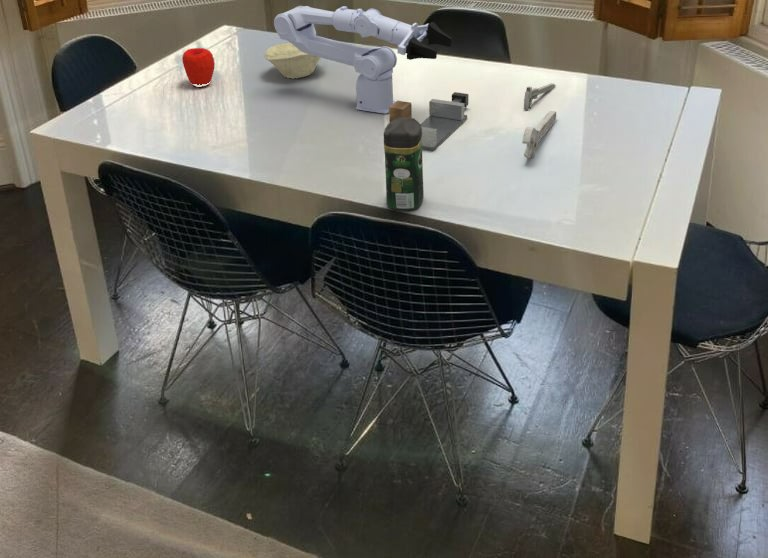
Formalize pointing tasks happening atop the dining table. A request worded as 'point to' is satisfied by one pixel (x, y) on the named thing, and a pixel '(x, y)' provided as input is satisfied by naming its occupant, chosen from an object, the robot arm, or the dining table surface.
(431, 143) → the vise
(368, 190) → the dining table surface
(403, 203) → the coffee jar
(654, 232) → the dining table surface
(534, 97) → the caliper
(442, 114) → the slide jaw
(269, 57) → the bowl
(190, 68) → the apple
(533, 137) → the wrench
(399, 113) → the block
